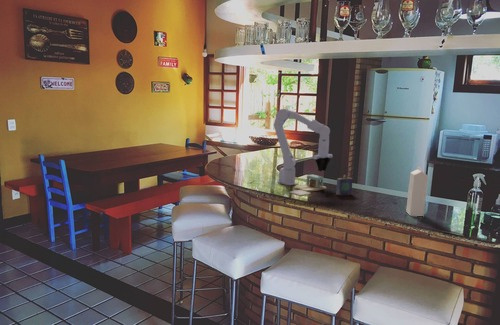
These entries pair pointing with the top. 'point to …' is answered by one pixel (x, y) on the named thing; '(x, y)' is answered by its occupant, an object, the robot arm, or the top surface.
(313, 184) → the block
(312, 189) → the board
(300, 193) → the pad
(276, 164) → the top surface
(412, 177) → the milk
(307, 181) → the cover
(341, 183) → the flask
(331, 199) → the top surface
